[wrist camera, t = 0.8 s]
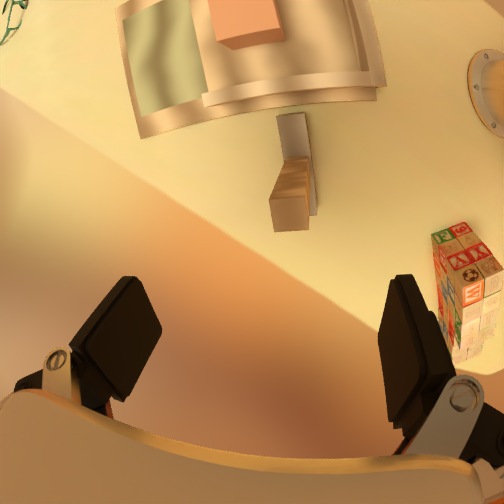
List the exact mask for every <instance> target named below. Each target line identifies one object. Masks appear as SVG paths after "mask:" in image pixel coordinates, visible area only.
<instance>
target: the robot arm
mask: <svg viewBox="0 0 504 504" xmlns="http://www.w3.org/2000/svg"><path fill="white" fill-rule="evenodd" d="M468 84H469V91H470V96H471V99H472V102H473V105H474V107H475V110H476V112H477V114H478V116H479V117H480V119H481V120H482V122H483V123H484V124H485V126H486V127H487V128H488V129H489V130H490V131H491V132H493V133H494V134H496V135H498V136H500V137H503V138H504V54H503V53H501V52H499V51H497V50H493V49H489V50H483V51H480V52H478V53H477V54H476V55H475V56H474V57H473V59H472V61H471V63H470V66H469V71H468ZM161 334H162V327H161V325H160V322H159V320H158V318H157V316H156V314H155V312H154V310H153V307H152V305H151V303H150V301H149V298H148V296H147V294H146V292H145V289H144V287H143V285H142V282H141V281H140V280H139V279H138V278H137V277H135V276H123V277H122V278H121V279H120V280H119V281H118V282H117V283H116V285H115V286H114V287H113V288H112V289H111V291H110V292H109V293H108V294H107V296H106V297H105V298H104V299H103V300H102V302H101V303H100V304H99V305H98V307H97V308H96V309H95V310H94V312H93V313H92V314H91V315H90V317H89V318H88V319H87V321H86V322H85V323H84V324H83V326H82V327H81V328H80V330H79V331H78V332H77V334H76V335H75V336H74V338H73V339H72V341H71V342H70V343H69V346H70V347H71V349H72V350H73V351H72V353H70V351H69V350H68V349H67V348H65V347H59V348H56V349H54V350H53V351H52V352H50V353H49V354H48V356H47V357H46V359H45V361H44V365H43V369H42V370H40V371H37V372H35V373H33V374H30V375H28V376H26V377H24V378H22V379H20V380H19V381H17V383H16V385H15V388H14V393H13V392H12V393H11V394H9V395H8V396H7V397H6V398H4V399H3V400H2V401H1V402H0V504H504V414H503V413H501V412H500V411H498V410H496V409H495V408H493V407H492V406H490V405H488V404H487V403H485V402H484V391H483V388H482V385H481V384H480V383H479V382H478V380H476V379H475V378H474V377H472V376H469V375H456V372H455V368H454V365H453V362H452V359H451V356H450V353H449V350H448V347H447V345H446V342H445V339H444V336H443V334H442V331H441V328H440V326H439V323H438V321H437V318H436V316H435V314H434V312H432V311H428V308H427V306H426V304H425V301H424V299H423V297H422V294H421V292H420V290H419V287H418V285H417V283H416V281H415V279H414V277H413V275H412V274H404V275H396V277H395V279H391V280H390V284H389V289H388V294H387V299H386V303H385V308H384V312H383V316H382V320H381V324H380V328H379V332H378V345H379V351H380V358H381V363H382V371H383V377H384V386H385V394H386V403H387V413H388V420H389V422H393V427H394V429H399V428H402V431H403V436H404V439H403V440H402V442H401V443H400V444H399V446H398V447H397V448H396V450H395V451H394V452H393V454H392V455H391V456H379V457H367V458H351V459H295V458H278V457H266V456H257V455H249V454H241V453H234V452H229V451H223V450H217V449H211V448H207V447H202V446H198V445H193V444H189V443H185V442H181V441H177V440H174V439H170V438H167V437H163V436H159V435H156V434H153V433H150V432H147V431H144V430H141V429H138V428H135V427H132V426H130V425H127V424H124V423H122V422H119V421H116V420H114V417H113V413H112V408H111V404H110V400H109V399H110V397H111V396H112V397H113V398H114V399H116V400H118V401H121V402H124V401H125V399H126V397H127V396H129V395H130V394H131V392H132V389H133V388H134V385H135V384H136V382H137V380H138V378H139V376H140V374H141V372H142V370H143V368H144V366H145V365H146V363H147V361H148V358H149V357H150V355H151V353H152V351H153V349H154V348H155V346H156V344H157V342H158V340H159V338H160V336H161ZM483 498H484V502H483Z"/></svg>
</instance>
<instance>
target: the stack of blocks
mask: <svg viewBox="0 0 504 504" xmlns="http://www.w3.org/2000/svg"><path fill="white" fill-rule="evenodd" d="M431 239H432V245H433V256H434V264H435V274H436V282H437V290H438V301H439V308H438V312H439V326H440V328H441V331H442V334H443V336H444V339H445V342H446V345H447V347H448V350H449V353H450V356H451V359H452V362H453V365H456V364H459V363H462V362H464V361H466V360H468V359H471V358H473V357H475V356H478V355H480V354H481V351H482V346H483V345H482V344H483V342H484V340H486V339H488V338H490V337H492V336H494V333H495V328H496V321H497V316H498V310H499V305H500V299H501V291H502V290H501V289H502V286H503V278H504V269H503V268H502V266H501V265H500V264H499V262H498V261H497V260H496V259H495V257H494V256H493V254H492V253H491V251H490V250H489V249H488V248H487V246H486V245H485V244H484V243H483V242H482V241H481V240H480V239H479V238H478V237H477V235H476V234H475V233H474V232H473V231H472V229H471V228H470V227H469V226H468V225H467V224H466V223H465V222H462V223H460V224H457V225H455V226H452V227H449V228H448V229H445V230H442V231H440V232H437V233H434V234H431Z"/></svg>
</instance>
